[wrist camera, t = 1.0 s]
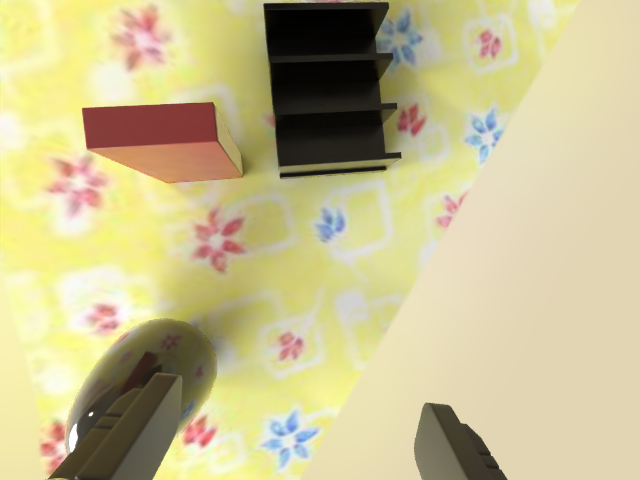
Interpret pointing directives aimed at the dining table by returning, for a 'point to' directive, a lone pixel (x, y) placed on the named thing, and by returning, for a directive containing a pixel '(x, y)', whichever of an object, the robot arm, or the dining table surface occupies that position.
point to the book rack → (327, 88)
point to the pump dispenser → (145, 373)
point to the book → (165, 140)
